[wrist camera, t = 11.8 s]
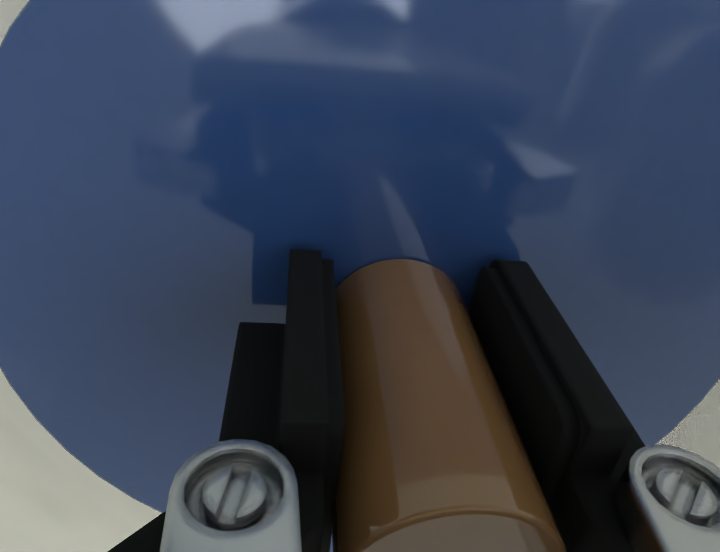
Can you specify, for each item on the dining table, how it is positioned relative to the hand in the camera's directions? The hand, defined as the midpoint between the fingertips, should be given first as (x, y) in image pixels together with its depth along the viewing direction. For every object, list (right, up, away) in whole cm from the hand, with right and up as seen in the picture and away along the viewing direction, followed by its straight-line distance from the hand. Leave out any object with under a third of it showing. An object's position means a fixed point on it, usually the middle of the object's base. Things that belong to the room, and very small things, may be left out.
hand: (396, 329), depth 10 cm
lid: (0, +1, +1) cm, 1 cm away
